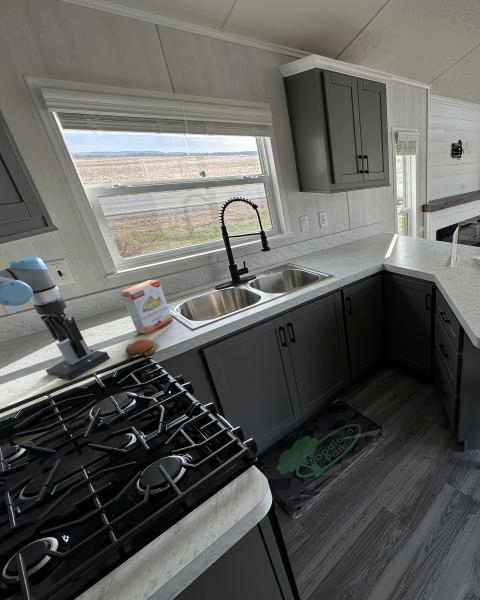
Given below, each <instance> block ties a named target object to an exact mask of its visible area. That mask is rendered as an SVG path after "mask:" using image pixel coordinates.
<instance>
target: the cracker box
mask: <svg viewBox="0 0 480 600" xmlns="http://www.w3.org/2000/svg"><path fill="white" fill-rule="evenodd" d="M119 293H120V295H121V297H122V299H123V303H124V304H125V306H126V310H127V311H128V314H129V316H130V318H131V320H132V324H133V326H134V328H135V330H136V333H138V334H144V335H148V334H150V333H152V332H153V331H156V330H158V329H159V328H161V327H163V326H164V325H165V326H166V325H167V324H169V323H170V322H172V321H173V320H174V319H173V316H172V313H171V311H170V307H169V305H168V302H167V300H166V297H165V293H164V291H163V288H162V286H161V283H160V281H159V280H157V279H155V280H153V279H149V280H146V281H143V282H140V283H138V284H135V285H133V286H131V287H127V288H126V289H123V290H121V291H120V292H119Z"/></svg>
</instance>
